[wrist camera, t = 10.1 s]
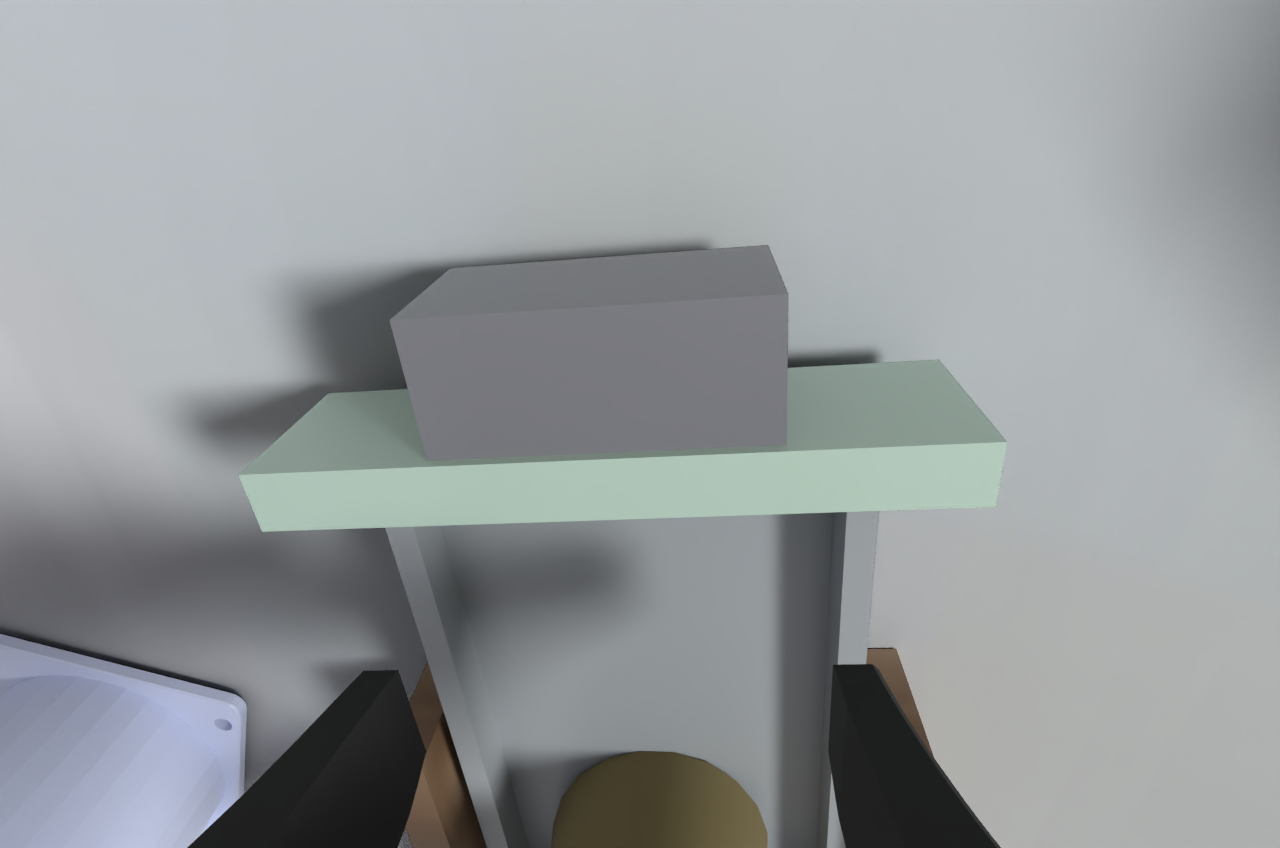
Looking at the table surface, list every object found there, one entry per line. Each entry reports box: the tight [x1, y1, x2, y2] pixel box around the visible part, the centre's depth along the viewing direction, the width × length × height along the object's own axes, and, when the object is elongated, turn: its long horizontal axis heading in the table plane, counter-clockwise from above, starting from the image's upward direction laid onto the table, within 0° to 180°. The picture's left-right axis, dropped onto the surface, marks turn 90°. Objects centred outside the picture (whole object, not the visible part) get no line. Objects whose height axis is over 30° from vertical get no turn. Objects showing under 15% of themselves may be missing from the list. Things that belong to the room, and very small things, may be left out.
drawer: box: [238, 245, 1007, 848], centre depth 16 cm, size 19×13×3 cm, turn 5°
